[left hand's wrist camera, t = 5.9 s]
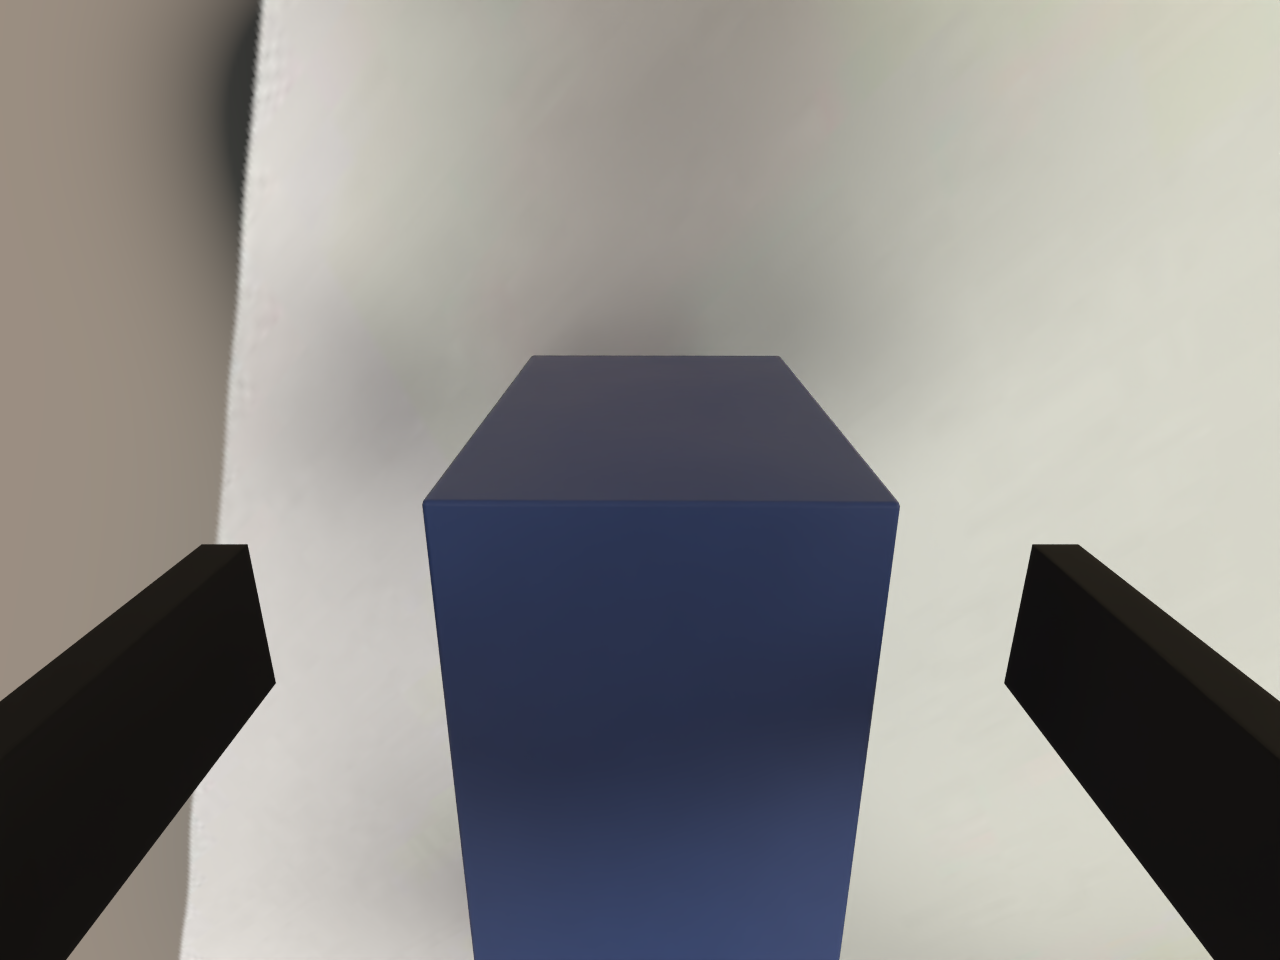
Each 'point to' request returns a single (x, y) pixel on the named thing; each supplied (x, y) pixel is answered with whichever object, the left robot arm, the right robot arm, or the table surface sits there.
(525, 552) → the bar
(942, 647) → the table surface
